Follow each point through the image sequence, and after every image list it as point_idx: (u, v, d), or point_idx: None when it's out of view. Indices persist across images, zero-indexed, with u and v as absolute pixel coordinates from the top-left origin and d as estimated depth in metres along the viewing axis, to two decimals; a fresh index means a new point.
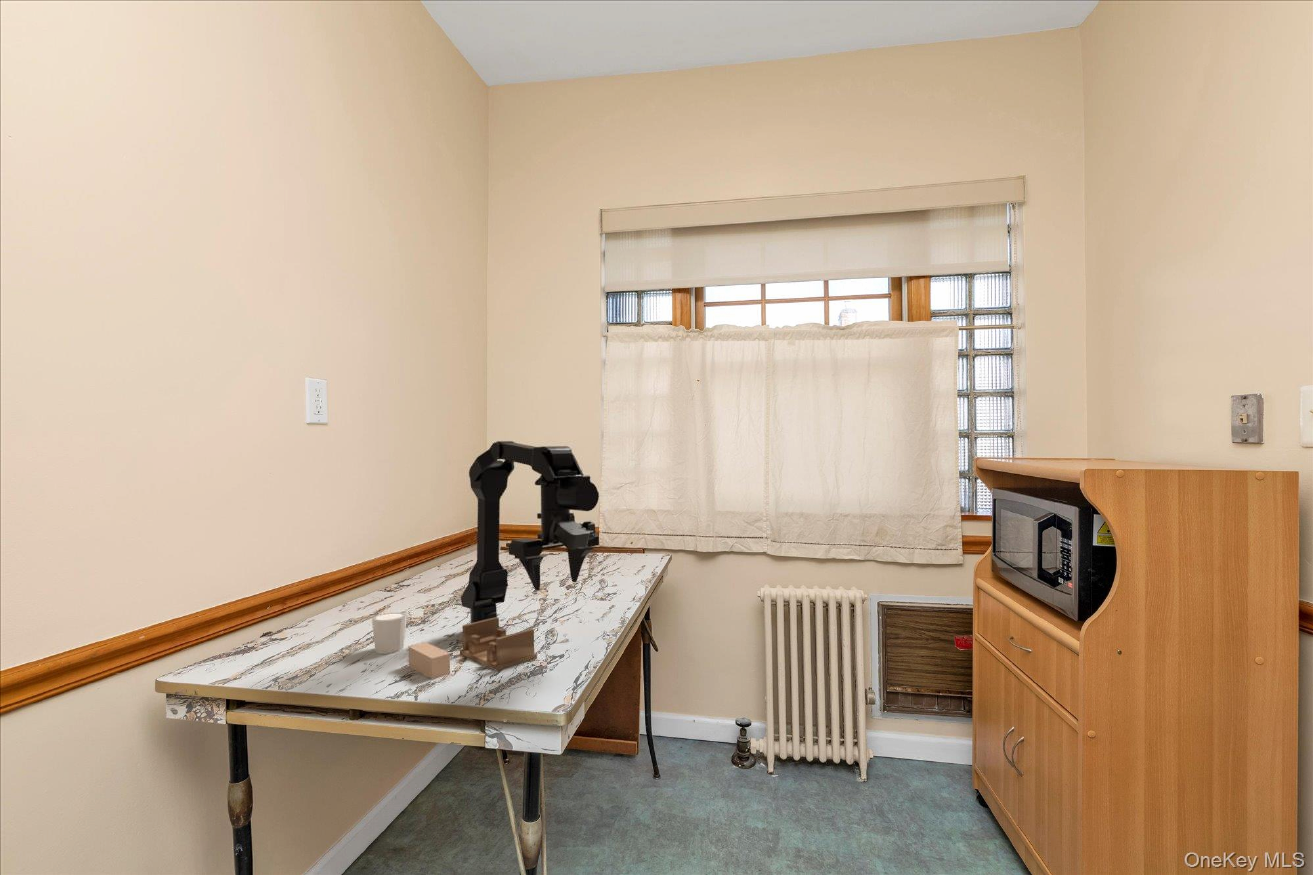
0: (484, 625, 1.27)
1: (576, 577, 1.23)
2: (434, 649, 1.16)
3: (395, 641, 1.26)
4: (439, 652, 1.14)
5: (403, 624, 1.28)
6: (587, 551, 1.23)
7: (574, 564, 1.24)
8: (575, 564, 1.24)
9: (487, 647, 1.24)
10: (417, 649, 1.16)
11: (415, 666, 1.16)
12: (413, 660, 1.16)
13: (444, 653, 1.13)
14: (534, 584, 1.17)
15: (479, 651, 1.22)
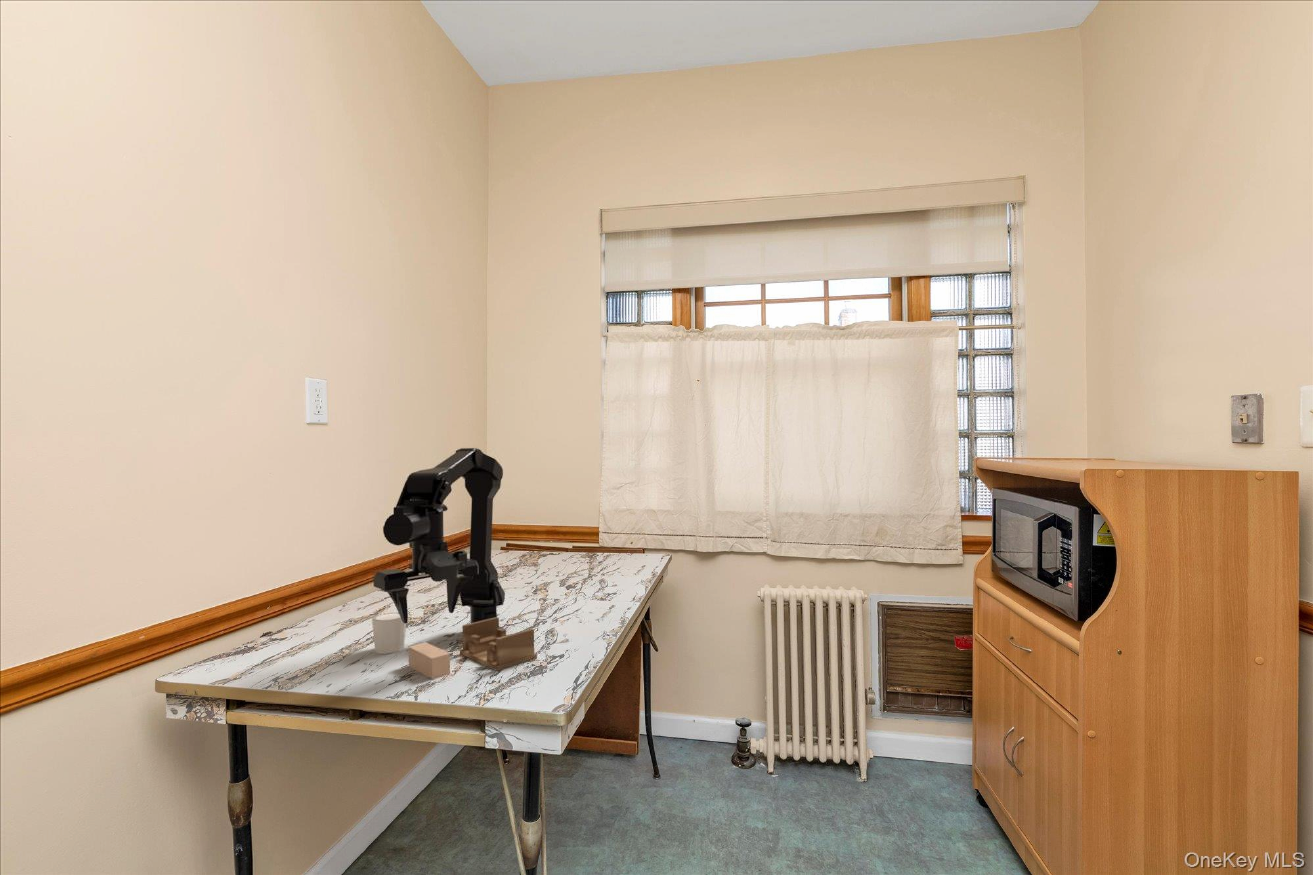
0: (484, 625, 1.27)
1: (452, 608, 1.19)
2: (434, 649, 1.16)
3: (395, 641, 1.26)
4: (439, 652, 1.14)
5: (403, 624, 1.28)
6: (464, 581, 1.19)
7: (451, 594, 1.19)
8: (452, 594, 1.19)
9: (487, 647, 1.24)
10: (417, 649, 1.16)
11: (415, 666, 1.15)
12: (413, 660, 1.16)
13: (444, 653, 1.13)
14: (402, 617, 1.12)
15: (479, 651, 1.22)
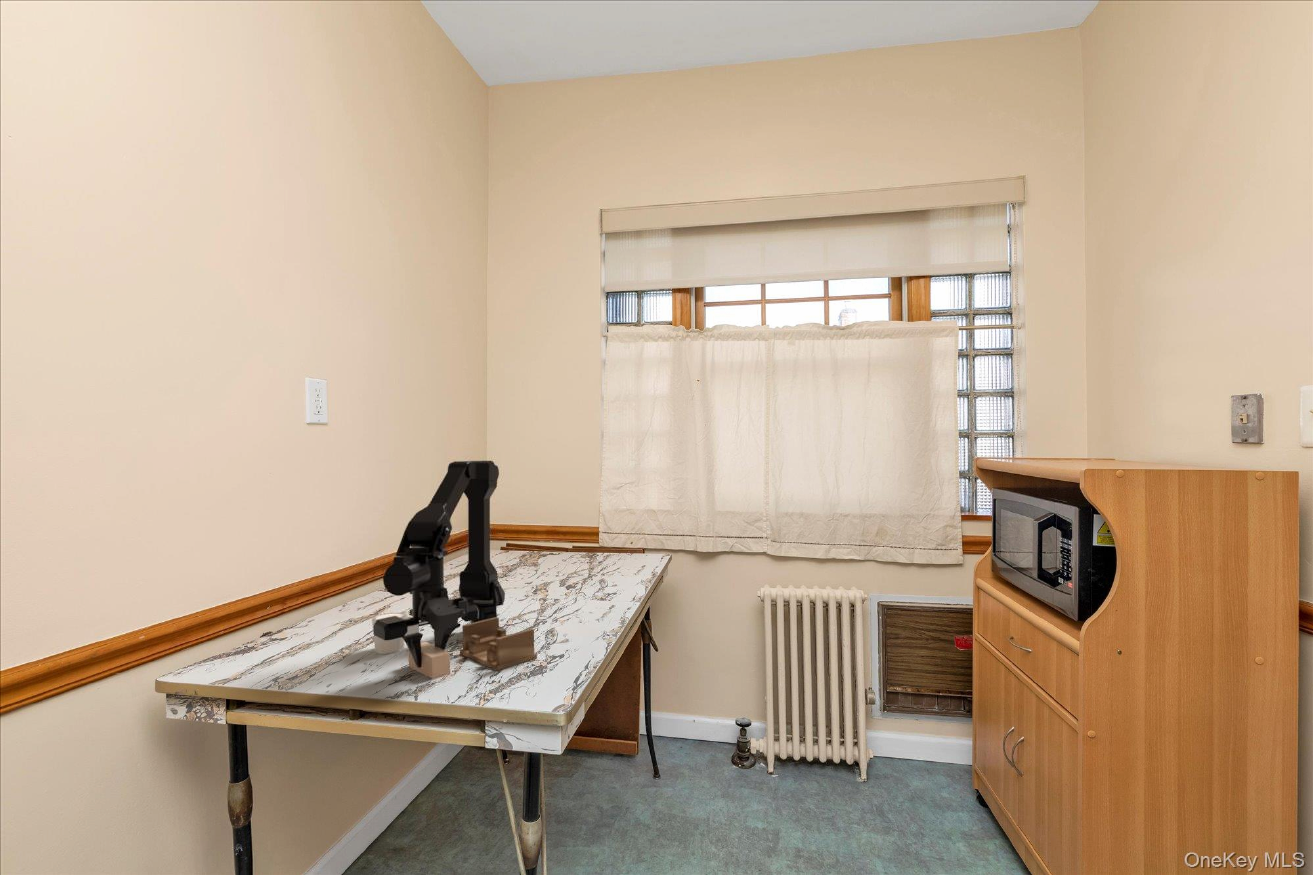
0: (484, 625, 1.27)
1: None
2: (434, 648, 1.16)
3: (395, 641, 1.26)
4: (439, 651, 1.14)
5: None
6: (451, 629, 1.16)
7: (438, 642, 1.17)
8: (439, 643, 1.17)
9: (487, 647, 1.24)
10: None
11: (415, 665, 1.15)
12: (413, 659, 1.16)
13: (444, 652, 1.13)
14: (415, 661, 1.14)
15: (479, 651, 1.22)
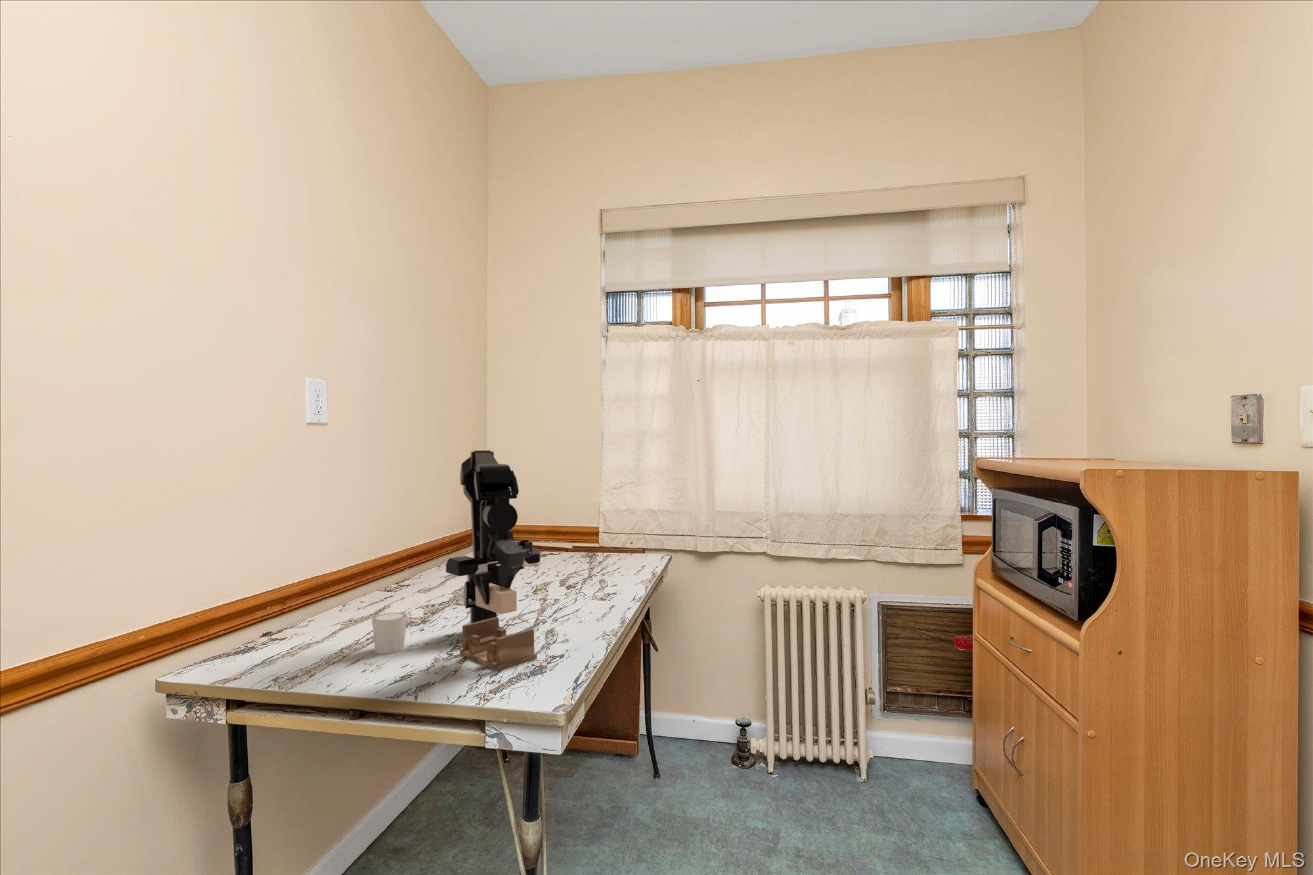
0: (484, 625, 1.27)
1: None
2: (500, 588, 1.23)
3: (395, 641, 1.26)
4: (506, 590, 1.21)
5: (403, 624, 1.28)
6: (516, 570, 1.23)
7: (504, 583, 1.24)
8: (504, 583, 1.24)
9: (487, 647, 1.24)
10: None
11: (483, 603, 1.23)
12: (481, 598, 1.23)
13: (511, 590, 1.20)
14: (484, 599, 1.21)
15: (479, 651, 1.22)
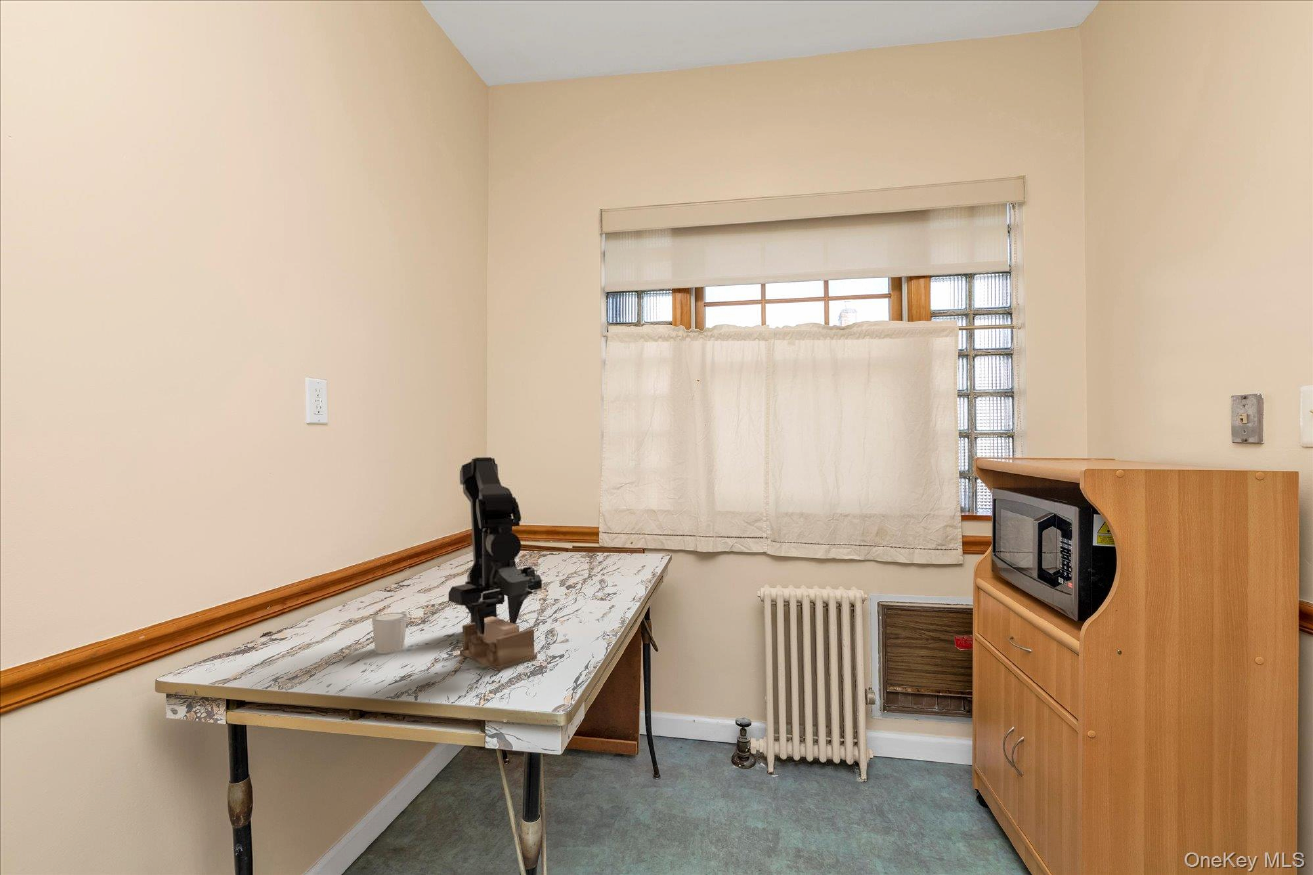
0: None
1: (514, 621, 1.25)
2: (503, 622, 1.23)
3: (395, 641, 1.26)
4: (509, 624, 1.21)
5: (403, 624, 1.28)
6: (525, 595, 1.25)
7: (513, 608, 1.25)
8: (513, 608, 1.25)
9: (487, 647, 1.24)
10: (486, 621, 1.23)
11: (485, 638, 1.23)
12: None
13: (514, 625, 1.20)
14: (479, 628, 1.20)
15: (479, 651, 1.22)
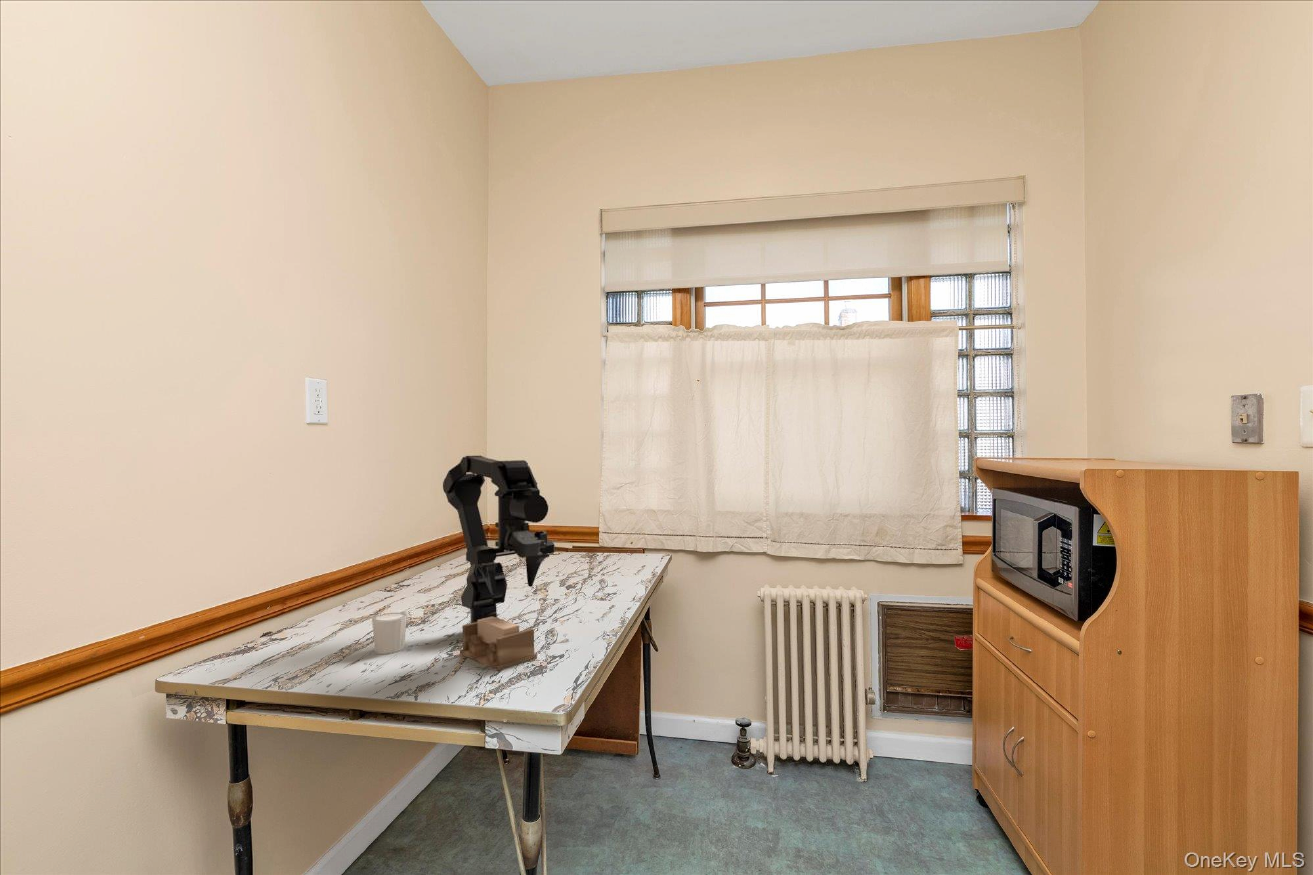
0: None
1: (532, 582, 1.32)
2: (503, 622, 1.23)
3: (395, 641, 1.26)
4: (509, 624, 1.21)
5: (403, 624, 1.28)
6: (542, 558, 1.32)
7: (530, 570, 1.33)
8: (531, 570, 1.33)
9: (487, 647, 1.24)
10: (486, 621, 1.23)
11: (485, 638, 1.23)
12: (483, 632, 1.23)
13: (514, 625, 1.20)
14: (490, 588, 1.26)
15: (479, 651, 1.22)
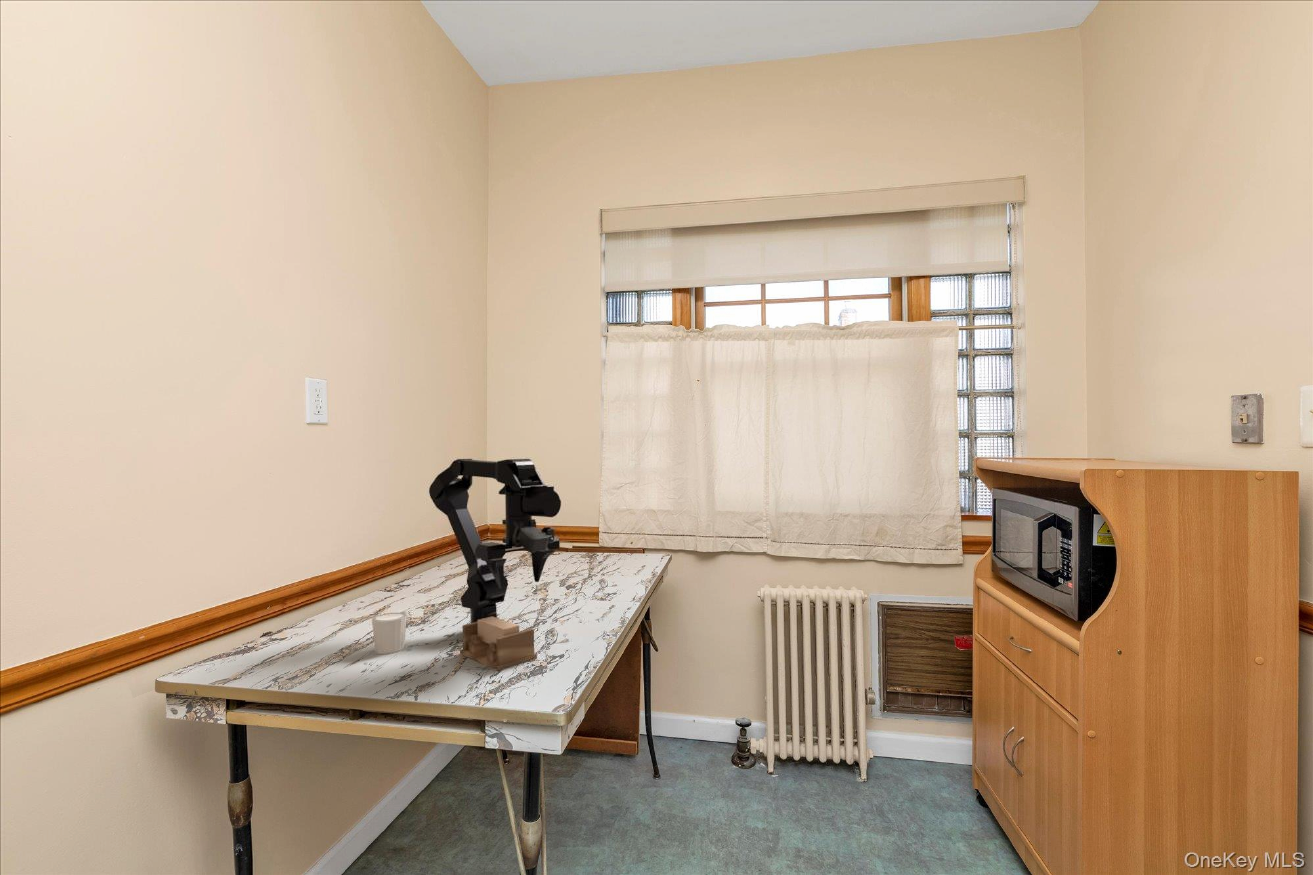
0: None
1: (538, 577, 1.36)
2: (503, 622, 1.23)
3: (395, 641, 1.26)
4: (509, 624, 1.21)
5: (403, 624, 1.28)
6: (548, 554, 1.36)
7: (537, 565, 1.36)
8: (537, 565, 1.36)
9: (487, 647, 1.24)
10: (486, 621, 1.23)
11: (485, 638, 1.23)
12: (483, 632, 1.23)
13: (514, 625, 1.20)
14: (498, 584, 1.29)
15: (479, 651, 1.22)
